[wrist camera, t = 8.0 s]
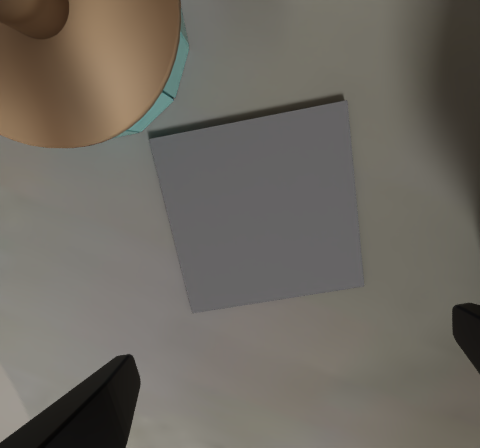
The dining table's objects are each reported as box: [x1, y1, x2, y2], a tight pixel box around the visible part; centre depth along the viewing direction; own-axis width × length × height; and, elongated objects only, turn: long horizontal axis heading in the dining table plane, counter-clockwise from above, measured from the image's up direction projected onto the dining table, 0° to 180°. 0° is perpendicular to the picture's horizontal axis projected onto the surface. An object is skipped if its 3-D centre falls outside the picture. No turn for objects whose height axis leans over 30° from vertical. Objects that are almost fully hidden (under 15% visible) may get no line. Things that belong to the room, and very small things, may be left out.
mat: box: [149, 100, 364, 313], centre depth 20 cm, size 12×12×1 cm
